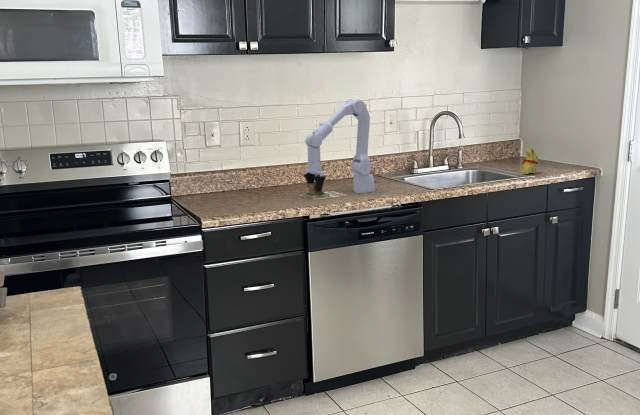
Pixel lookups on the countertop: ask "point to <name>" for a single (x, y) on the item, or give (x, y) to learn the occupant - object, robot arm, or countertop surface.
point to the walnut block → (313, 190)
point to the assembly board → (323, 195)
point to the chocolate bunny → (530, 161)
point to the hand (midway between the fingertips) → (315, 190)
